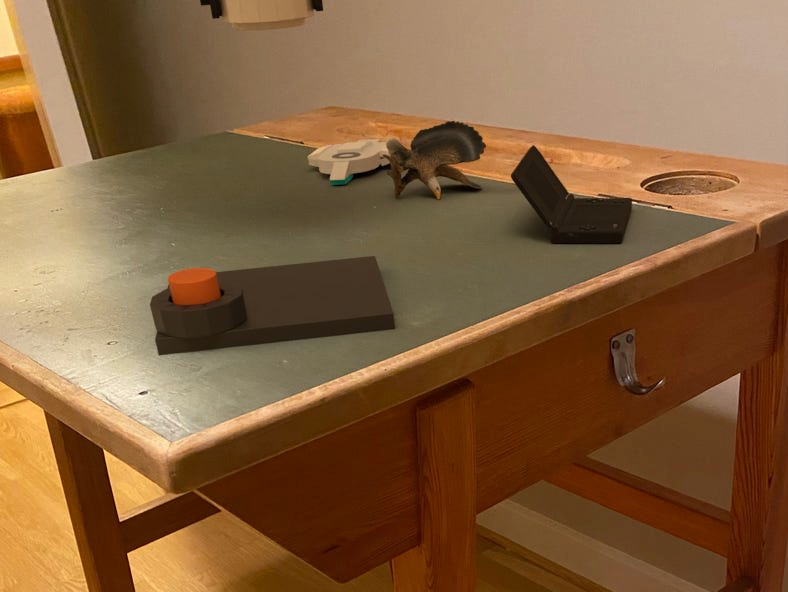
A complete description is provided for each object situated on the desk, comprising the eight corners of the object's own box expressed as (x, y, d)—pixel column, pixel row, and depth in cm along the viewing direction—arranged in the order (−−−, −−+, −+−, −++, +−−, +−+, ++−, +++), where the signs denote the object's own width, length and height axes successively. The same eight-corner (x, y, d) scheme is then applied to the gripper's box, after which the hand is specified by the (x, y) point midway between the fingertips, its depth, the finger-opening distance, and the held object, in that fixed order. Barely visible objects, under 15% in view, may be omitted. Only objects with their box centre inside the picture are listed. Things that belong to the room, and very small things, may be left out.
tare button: (172, 311, 68) (165, 284, 66) (175, 296, 70) (169, 270, 69) (220, 305, 68) (215, 279, 67) (222, 291, 70) (216, 265, 69)
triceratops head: (408, 198, 95) (496, 166, 96) (379, 123, 94) (467, 92, 95) (401, 226, 102) (482, 197, 103) (373, 157, 101) (455, 128, 103)
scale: (157, 359, 68) (146, 315, 66) (172, 292, 79) (163, 252, 78) (395, 333, 69) (391, 288, 68) (376, 270, 81) (372, 231, 79)
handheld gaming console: (648, 220, 82) (572, 114, 79) (578, 279, 85) (501, 180, 82) (636, 205, 93) (568, 111, 89) (574, 259, 95) (505, 169, 92)
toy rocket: (330, 153, 118) (327, 132, 117) (412, 151, 117) (410, 129, 116) (290, 187, 106) (287, 163, 104) (381, 185, 104) (379, 161, 103)
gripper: (76, -313, 62) (146, 26, 72) (359, -321, 64) (387, 9, 75) (90, -294, 68) (153, 17, 78) (349, -302, 70) (376, 1, 81)
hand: (267, 11), depth 76 cm, fingers closed on bowl, 6 cm apart
